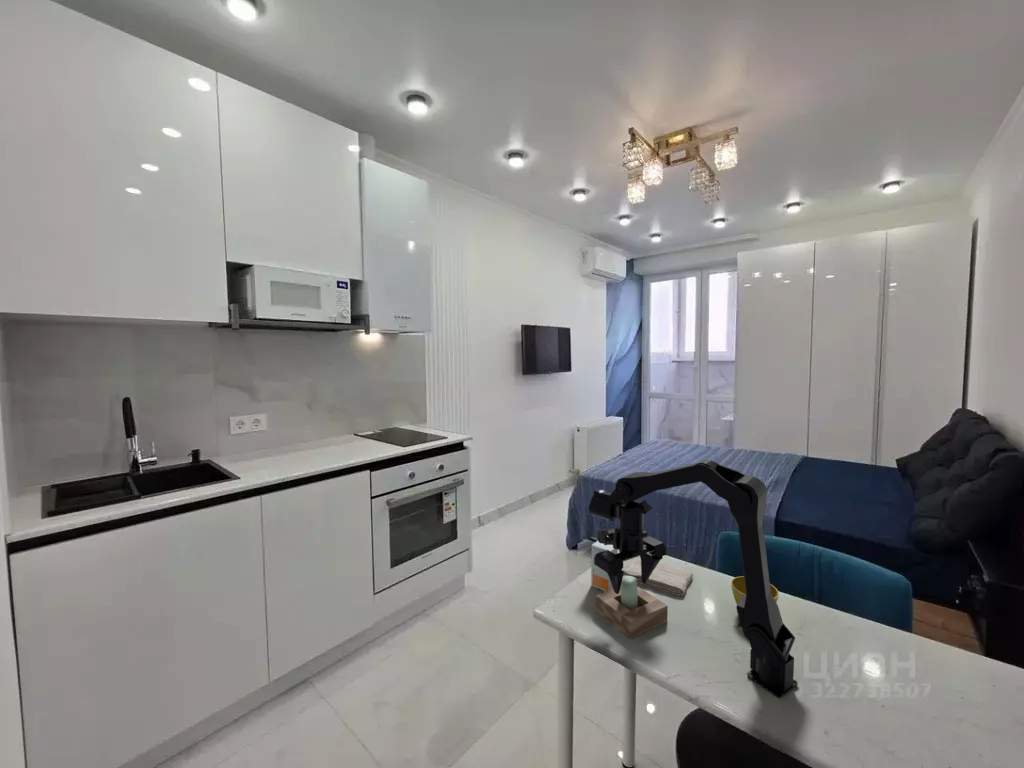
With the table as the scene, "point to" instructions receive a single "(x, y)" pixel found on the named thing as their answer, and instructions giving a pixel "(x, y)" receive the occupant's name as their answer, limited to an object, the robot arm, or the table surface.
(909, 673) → the table surface
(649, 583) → the washcloth
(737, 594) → the yellow bowl
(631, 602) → the sage peg
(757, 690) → the table surface
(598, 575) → the skincare box
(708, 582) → the table surface
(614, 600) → the walnut socket
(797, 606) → the table surface
